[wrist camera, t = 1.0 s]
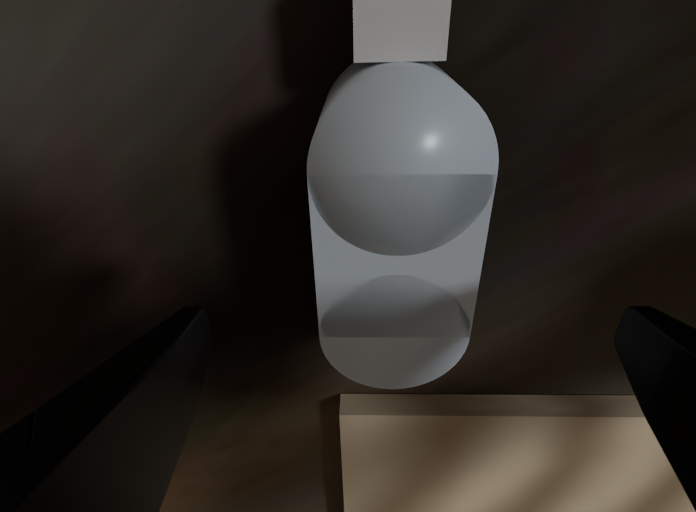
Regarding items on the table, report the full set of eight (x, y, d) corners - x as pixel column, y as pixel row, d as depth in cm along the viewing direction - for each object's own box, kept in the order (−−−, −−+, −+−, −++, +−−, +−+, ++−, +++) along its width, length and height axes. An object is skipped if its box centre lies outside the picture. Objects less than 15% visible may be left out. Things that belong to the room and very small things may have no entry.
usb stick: (439, 304, 17) (461, 389, 14) (331, 304, 17) (323, 388, 14) (479, -54, 11) (539, -80, 7) (312, -49, 11) (288, -71, 8)
